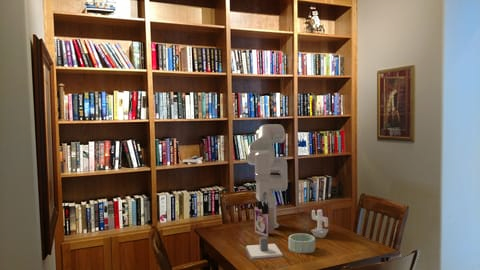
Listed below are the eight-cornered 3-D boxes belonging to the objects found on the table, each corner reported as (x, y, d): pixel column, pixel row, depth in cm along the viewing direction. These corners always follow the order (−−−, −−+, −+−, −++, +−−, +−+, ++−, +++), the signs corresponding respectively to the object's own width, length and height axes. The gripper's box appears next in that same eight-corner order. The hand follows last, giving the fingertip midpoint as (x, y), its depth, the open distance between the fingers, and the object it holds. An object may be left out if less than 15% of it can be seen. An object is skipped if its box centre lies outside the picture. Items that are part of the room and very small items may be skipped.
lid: (246, 247, 195) (246, 234, 195) (274, 245, 197) (274, 232, 197) (251, 258, 180) (251, 244, 180) (282, 256, 182) (282, 242, 182)
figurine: (324, 239, 206) (324, 212, 205) (309, 236, 212) (309, 210, 211) (330, 236, 212) (330, 209, 211) (315, 233, 218) (315, 207, 217)
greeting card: (253, 232, 221) (253, 207, 220) (263, 230, 225) (263, 205, 224) (266, 237, 212) (266, 211, 211) (276, 234, 216) (276, 208, 215)
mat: (244, 247, 196) (244, 247, 196) (276, 245, 198) (276, 244, 198) (249, 260, 179) (249, 259, 179) (284, 257, 182) (284, 256, 182)
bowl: (285, 245, 198) (285, 234, 198) (309, 243, 200) (309, 232, 200) (293, 254, 185) (293, 242, 185) (318, 252, 187) (318, 241, 187)
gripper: (252, 174, 194) (252, 207, 195) (258, 180, 177) (259, 216, 178) (266, 174, 196) (266, 207, 196) (274, 179, 179) (274, 215, 179)
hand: (263, 211), depth 187 cm, fingers open, 9 cm apart
